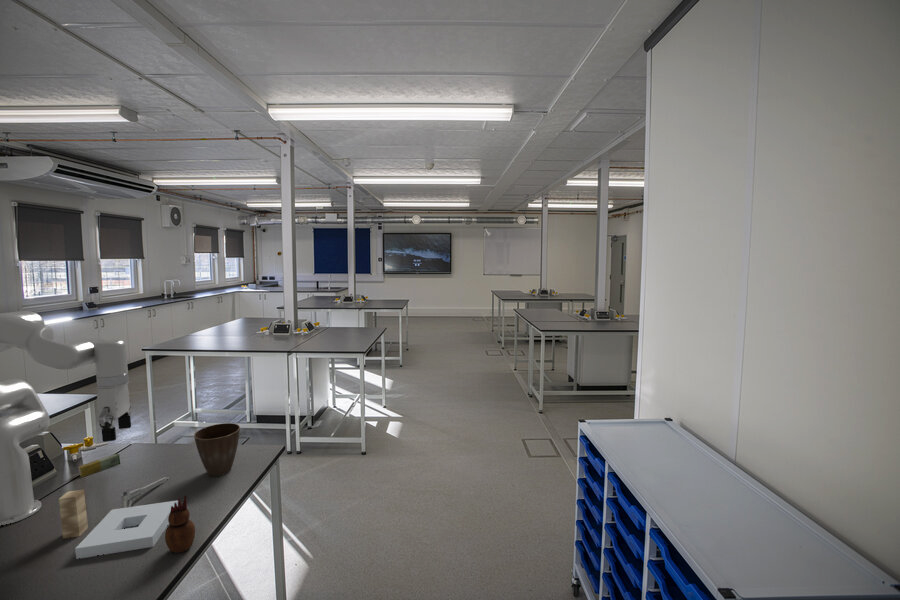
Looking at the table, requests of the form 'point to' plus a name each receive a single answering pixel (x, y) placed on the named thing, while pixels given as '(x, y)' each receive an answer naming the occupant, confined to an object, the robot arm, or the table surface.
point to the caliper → (138, 493)
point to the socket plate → (126, 530)
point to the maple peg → (73, 513)
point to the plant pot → (217, 447)
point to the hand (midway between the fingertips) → (117, 434)
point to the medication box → (99, 465)
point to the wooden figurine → (179, 528)
